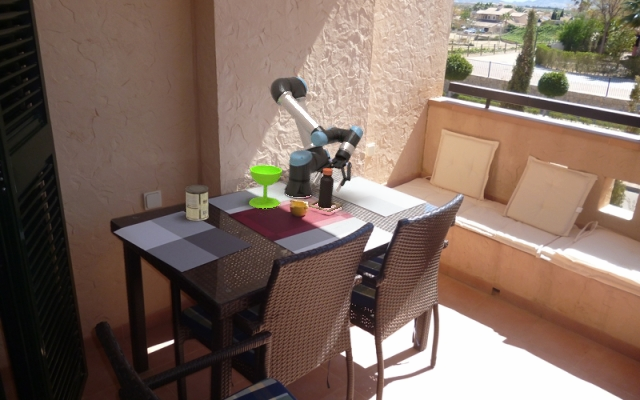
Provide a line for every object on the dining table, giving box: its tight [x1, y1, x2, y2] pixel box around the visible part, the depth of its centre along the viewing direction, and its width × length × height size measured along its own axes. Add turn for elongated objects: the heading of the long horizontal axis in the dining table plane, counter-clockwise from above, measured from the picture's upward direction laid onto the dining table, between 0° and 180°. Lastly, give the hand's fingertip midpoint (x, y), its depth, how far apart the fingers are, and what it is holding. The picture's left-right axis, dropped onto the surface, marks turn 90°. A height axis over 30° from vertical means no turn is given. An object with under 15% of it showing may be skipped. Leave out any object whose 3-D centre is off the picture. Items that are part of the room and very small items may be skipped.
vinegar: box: [318, 168, 335, 208], centre depth 257 cm, size 7×7×20 cm
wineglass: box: [248, 164, 283, 210], centre depth 259 cm, size 16×16×18 cm
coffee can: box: [185, 184, 209, 222], centre depth 236 cm, size 10×10×14 cm
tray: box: [307, 199, 344, 212], centre depth 260 cm, size 13×13×2 cm
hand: (325, 187), depth 255 cm, fingers open, 13 cm apart
